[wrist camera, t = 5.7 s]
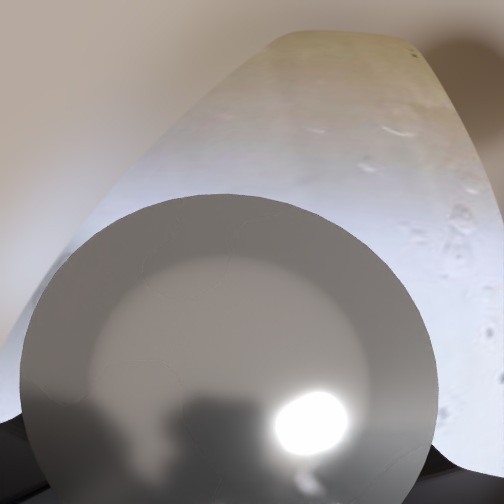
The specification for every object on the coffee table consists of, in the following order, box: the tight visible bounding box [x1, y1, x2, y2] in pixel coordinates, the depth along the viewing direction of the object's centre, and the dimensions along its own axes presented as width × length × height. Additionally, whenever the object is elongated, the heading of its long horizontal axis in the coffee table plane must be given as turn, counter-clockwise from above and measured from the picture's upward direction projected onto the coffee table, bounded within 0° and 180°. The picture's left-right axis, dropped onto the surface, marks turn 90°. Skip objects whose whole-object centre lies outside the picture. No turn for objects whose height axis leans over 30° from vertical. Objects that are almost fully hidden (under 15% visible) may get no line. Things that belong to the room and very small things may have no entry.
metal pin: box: [20, 194, 438, 504], centre depth 8 cm, size 3×3×13 cm
